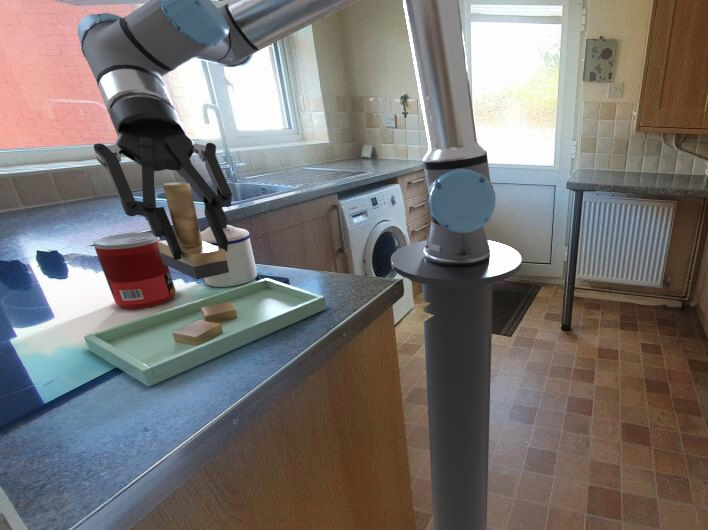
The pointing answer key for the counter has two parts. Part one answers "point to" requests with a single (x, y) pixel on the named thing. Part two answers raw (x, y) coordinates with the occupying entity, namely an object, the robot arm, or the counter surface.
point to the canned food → (135, 270)
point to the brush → (189, 237)
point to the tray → (156, 330)
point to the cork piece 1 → (197, 333)
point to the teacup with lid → (233, 257)
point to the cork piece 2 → (219, 312)
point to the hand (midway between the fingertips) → (201, 250)
